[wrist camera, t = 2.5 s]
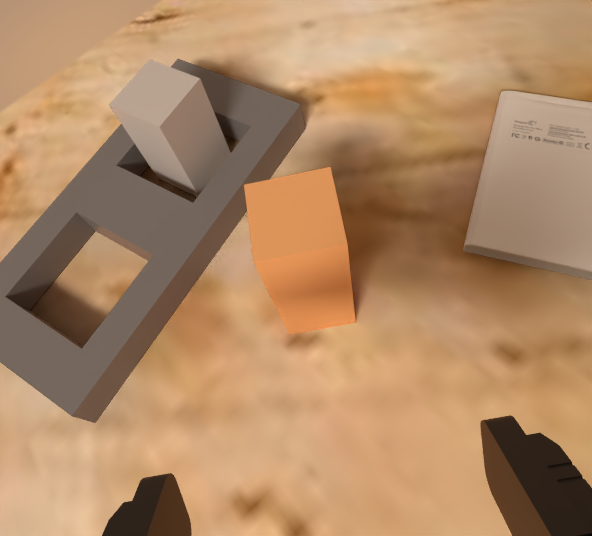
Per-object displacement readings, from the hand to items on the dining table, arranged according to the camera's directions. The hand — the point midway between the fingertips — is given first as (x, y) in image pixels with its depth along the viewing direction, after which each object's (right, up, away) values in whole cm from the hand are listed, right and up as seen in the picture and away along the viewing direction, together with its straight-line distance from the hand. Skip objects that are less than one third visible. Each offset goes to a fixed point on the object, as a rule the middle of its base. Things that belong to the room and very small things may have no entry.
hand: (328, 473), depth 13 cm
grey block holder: (-11, +8, +22) cm, 26 cm away
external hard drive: (+15, +10, +20) cm, 27 cm away
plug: (+1, +3, +18) cm, 18 cm away
